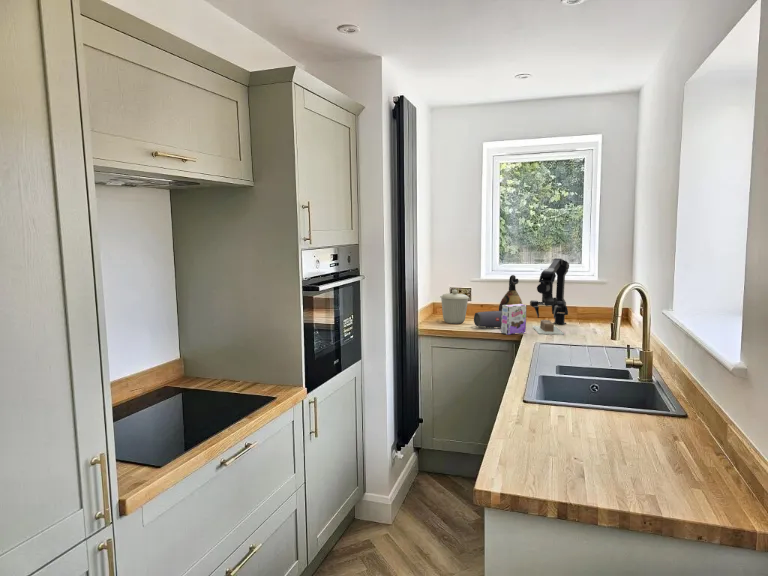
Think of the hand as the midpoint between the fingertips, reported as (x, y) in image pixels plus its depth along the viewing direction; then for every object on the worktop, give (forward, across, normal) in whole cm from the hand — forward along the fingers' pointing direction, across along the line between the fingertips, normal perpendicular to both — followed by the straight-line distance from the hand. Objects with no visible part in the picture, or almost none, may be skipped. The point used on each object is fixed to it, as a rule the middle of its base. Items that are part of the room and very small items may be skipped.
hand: (546, 318), depth 313 cm
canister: (+7, -54, +17) cm, 57 cm away
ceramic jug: (+7, -17, +28) cm, 34 cm away
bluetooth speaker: (+7, -30, +4) cm, 31 cm away
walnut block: (+4, 0, +4) cm, 6 cm away
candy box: (+7, -21, -13) cm, 25 cm away
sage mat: (+7, 0, -3) cm, 8 cm away
